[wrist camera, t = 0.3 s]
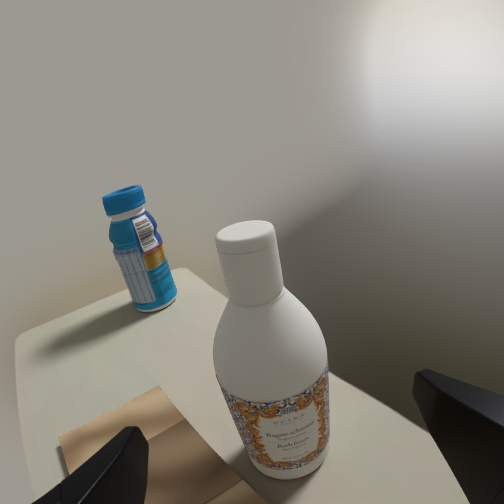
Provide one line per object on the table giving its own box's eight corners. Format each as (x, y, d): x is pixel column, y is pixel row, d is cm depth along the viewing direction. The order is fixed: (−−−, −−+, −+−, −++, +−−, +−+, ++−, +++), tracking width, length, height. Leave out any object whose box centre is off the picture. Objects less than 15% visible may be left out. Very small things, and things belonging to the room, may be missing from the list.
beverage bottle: (133, 319, 48) (91, 203, 40) (136, 296, 55) (102, 194, 48) (180, 306, 49) (144, 186, 41) (177, 284, 57) (147, 180, 49)
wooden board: (300, 531, 15) (299, 527, 14) (150, 614, 7) (141, 613, 7) (162, 392, 31) (157, 384, 31) (64, 443, 24) (57, 436, 24)
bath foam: (257, 490, 19) (167, 277, 11) (244, 429, 25) (178, 226, 18) (340, 467, 20) (340, 235, 12) (315, 410, 26) (292, 200, 18)
